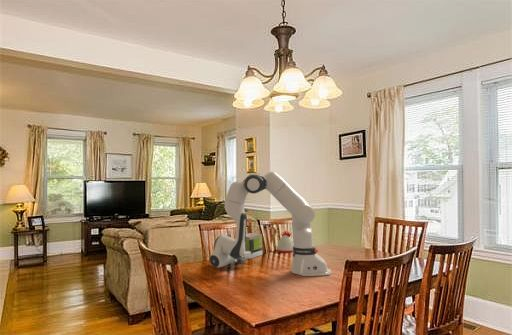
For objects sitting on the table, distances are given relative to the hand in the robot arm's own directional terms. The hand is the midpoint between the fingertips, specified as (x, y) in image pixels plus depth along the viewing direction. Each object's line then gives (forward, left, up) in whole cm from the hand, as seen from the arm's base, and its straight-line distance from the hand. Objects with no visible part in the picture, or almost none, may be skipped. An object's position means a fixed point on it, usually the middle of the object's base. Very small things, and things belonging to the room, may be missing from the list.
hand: (241, 251), depth 218 cm
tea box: (-4, -19, -7) cm, 20 cm away
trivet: (+8, -5, -7) cm, 12 cm away
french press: (0, -1, -7) cm, 7 cm away
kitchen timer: (-29, -38, -7) cm, 48 cm away
